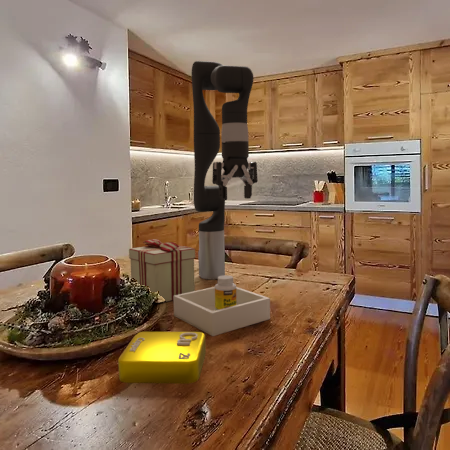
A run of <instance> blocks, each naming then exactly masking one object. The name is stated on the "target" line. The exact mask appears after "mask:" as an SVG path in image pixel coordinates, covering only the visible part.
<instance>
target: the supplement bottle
mask: <svg viewBox="0 0 450 450" xmlns="http://www.w3.org/2000/svg"><path fill="white" fill-rule="evenodd" d="M214 287H215V311H216V310H220V309H224V308H228V307H232V306H235V305H237V300H236V287H237V285H236V283H234V276H232V275H227V274H225V275H224V276H219V277H218V279H217V283H216V284H214Z"/></svg>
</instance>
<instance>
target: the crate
mask: <svg viewBox="0 0 450 450" xmlns="http://www.w3.org/2000/svg"><path fill="white" fill-rule="evenodd" d="M236 300H237V305H235V306H232V307H228V308H224V309H220V310H216V311H215V286H212V287H207V288H204V289H198V290H195V291H193V292H188V293H184V294H179V295H174V296H173V300H172V301H173V316H174V317H175V318H178V319H179V320H181V321H182V322H185V323H187V324H189V325H191V326H193V327H194V328H196V329H199V330H200V331H201V332H204V333H205V334H208V335H209V336H211V337H215V336H219V335H221V334H225V333H229V332H231V331H234V330H235V331H236V330H238V329H241V328H244V327H249V326H250V325H252V326H253V325H254V324H258V323H261V322H264V321H268V320H270V319H271V298H270V297H267V296H264V295H262V294H260V293H256V292H253V291H251V290H250V291H249V290H248V289H244V288H241V287H237V286H236Z"/></svg>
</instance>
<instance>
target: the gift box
mask: <svg viewBox="0 0 450 450" xmlns="http://www.w3.org/2000/svg"><path fill="white" fill-rule="evenodd" d="M142 243H143V244H144V245H145V246H139V247H132V248H128V258H129V259H130V279H131V278H134V279H136V280H137V282H138V284H140V285H145V286H149V288H150V291H151V292H157V291H159V295H160V296H162V297H163V298H164V299H165V301H166V302H171V301H174V300H173V296H174V295H179V294H184V293H188V292H193V291H196V290H195V259H196V248H194V247H191V246H185V245H179V244H177V243H175V242H173V241H170V242H161V240H159V239H156V238H155V239H154V238H153V239H148V240H143V241H142ZM166 302H165V303H166Z"/></svg>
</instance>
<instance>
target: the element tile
mask: <svg viewBox="0 0 450 450" xmlns="http://www.w3.org/2000/svg"><path fill="white" fill-rule="evenodd" d="M206 344H207V343H206V333H205V332H204V333H203V331H140V332H137V334H135V335H134V336H133V338H132V339H131V341H130V342H129V343H128V345H127V346H126V348H124V350H123V352H122V353H121V354H120V356H119V357H118V359H117V362H118V364H117V365H118V380H119V381H120V382H121V383H125V384H175V385H176V384H181V385H182V384H184V385H189V384H192V383H196V382H198V381H199V379H200V377H201V373H202V369H203V366H204V361H205V357H206V354H207V351H206V350H207V349H206V346H207V345H206Z"/></svg>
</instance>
